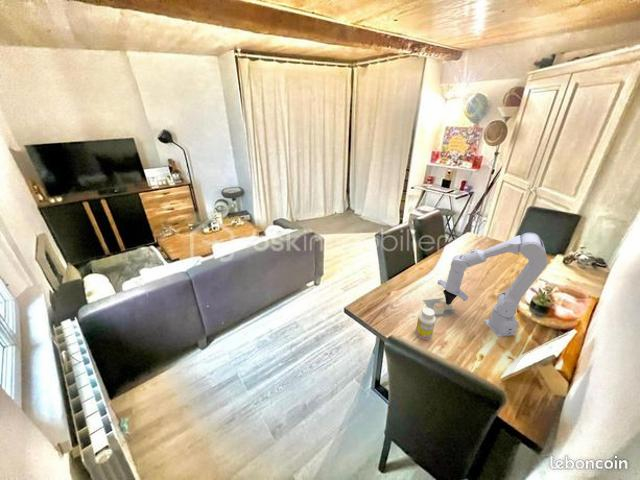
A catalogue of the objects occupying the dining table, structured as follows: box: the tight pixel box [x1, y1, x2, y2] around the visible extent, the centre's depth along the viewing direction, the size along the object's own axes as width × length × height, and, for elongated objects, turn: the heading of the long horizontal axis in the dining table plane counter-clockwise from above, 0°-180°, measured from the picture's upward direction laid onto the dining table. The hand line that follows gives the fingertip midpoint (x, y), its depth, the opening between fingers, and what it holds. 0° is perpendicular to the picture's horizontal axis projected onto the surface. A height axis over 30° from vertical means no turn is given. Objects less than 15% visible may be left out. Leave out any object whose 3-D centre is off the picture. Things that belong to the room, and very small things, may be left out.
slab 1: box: [433, 303, 445, 315], centre depth 115 cm, size 2×4×5 cm, turn 97°
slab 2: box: [438, 298, 454, 310], centre depth 120 cm, size 2×4×5 cm
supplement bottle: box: [415, 307, 437, 340], centre depth 103 cm, size 7×7×13 cm
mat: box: [422, 297, 458, 318], centre depth 120 cm, size 12×11×1 cm
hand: (448, 303), depth 117 cm, fingers closed
